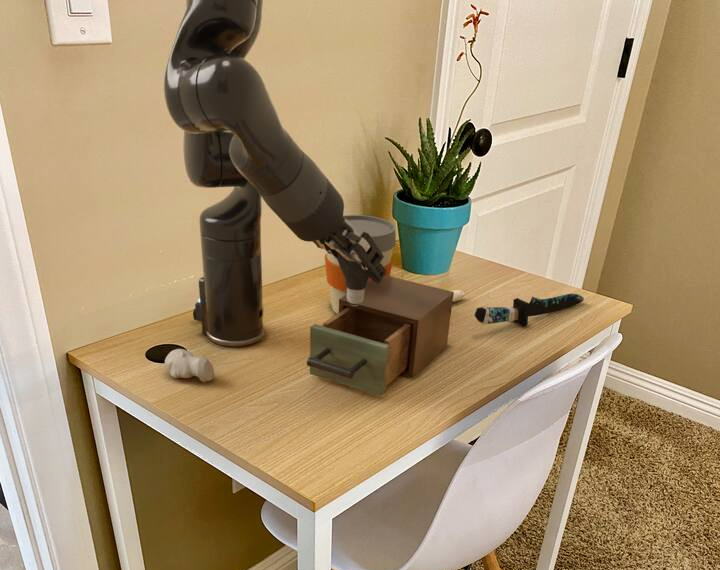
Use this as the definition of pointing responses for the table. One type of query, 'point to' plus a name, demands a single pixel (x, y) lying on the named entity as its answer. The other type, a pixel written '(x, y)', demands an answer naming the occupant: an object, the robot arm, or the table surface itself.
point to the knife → (526, 309)
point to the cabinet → (411, 314)
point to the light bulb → (353, 279)
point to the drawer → (360, 349)
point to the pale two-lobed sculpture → (188, 365)
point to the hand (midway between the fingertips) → (366, 270)
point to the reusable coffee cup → (383, 239)
